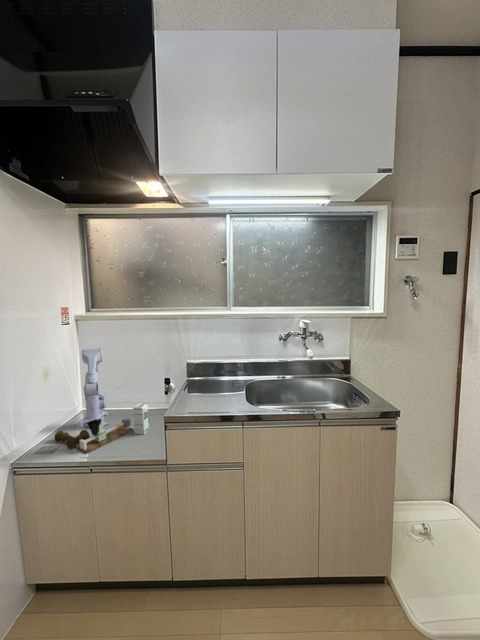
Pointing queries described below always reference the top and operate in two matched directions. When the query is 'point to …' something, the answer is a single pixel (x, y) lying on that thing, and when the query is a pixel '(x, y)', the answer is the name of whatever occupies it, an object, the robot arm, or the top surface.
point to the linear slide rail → (125, 424)
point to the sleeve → (101, 433)
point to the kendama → (71, 438)
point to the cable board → (109, 438)
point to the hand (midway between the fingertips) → (94, 434)
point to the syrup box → (141, 418)
